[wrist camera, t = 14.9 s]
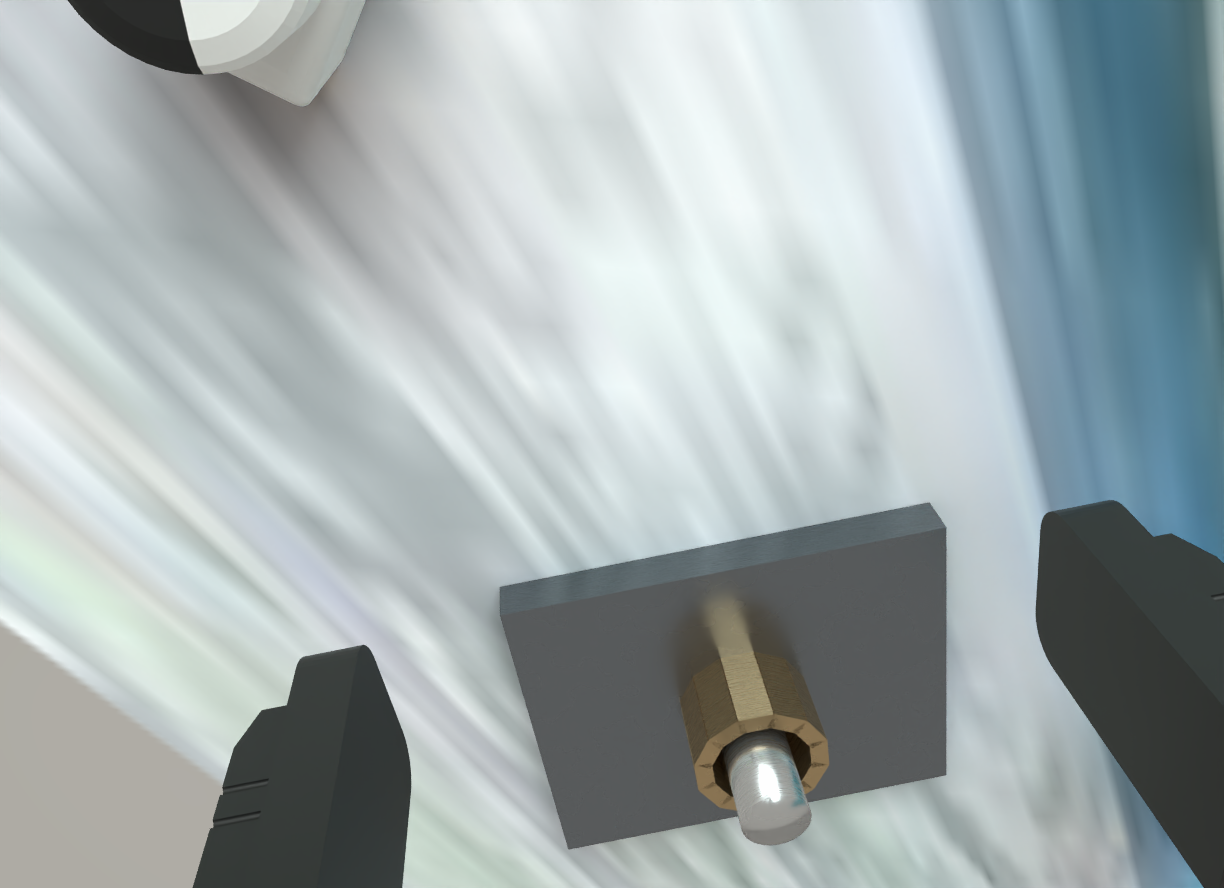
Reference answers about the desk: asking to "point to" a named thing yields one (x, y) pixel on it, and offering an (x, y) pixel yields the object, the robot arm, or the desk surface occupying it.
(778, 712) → the bronze ring
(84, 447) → the desk surface
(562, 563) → the desk surface
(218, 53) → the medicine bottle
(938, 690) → the piston stand
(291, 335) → the desk surface
